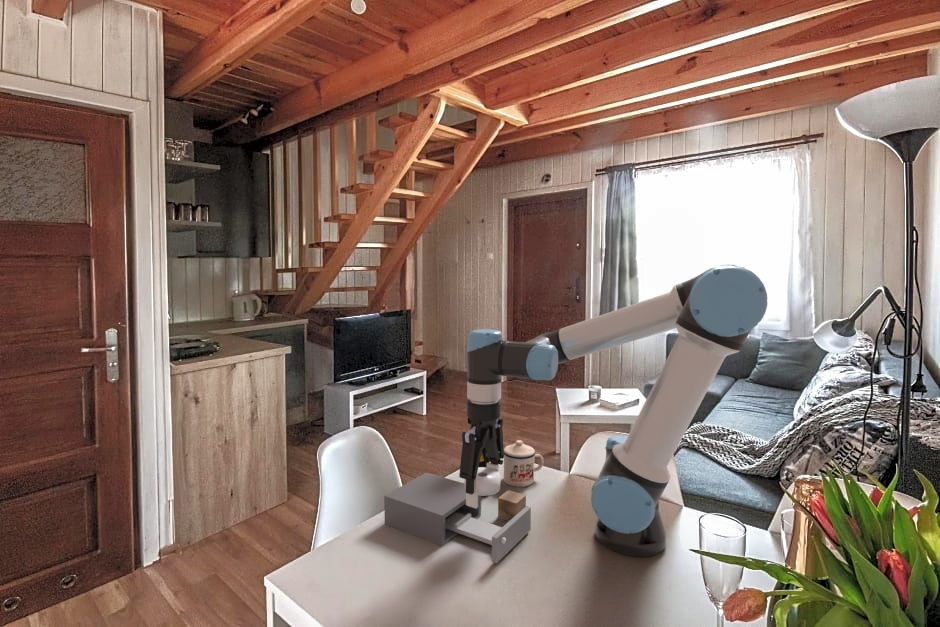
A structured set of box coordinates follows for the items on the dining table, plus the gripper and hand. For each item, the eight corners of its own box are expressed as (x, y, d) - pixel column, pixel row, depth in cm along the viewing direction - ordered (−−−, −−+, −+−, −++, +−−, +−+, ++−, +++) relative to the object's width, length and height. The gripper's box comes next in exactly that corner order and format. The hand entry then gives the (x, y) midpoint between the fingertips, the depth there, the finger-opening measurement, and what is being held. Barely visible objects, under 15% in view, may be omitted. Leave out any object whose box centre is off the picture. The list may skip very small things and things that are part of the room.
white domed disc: (506, 485, 114) (506, 472, 113) (488, 499, 107) (488, 485, 107) (476, 476, 118) (476, 464, 118) (457, 489, 111) (457, 476, 111)
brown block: (525, 514, 124) (526, 495, 123) (516, 523, 120) (516, 503, 119) (507, 509, 127) (508, 490, 126) (498, 517, 122) (498, 497, 122)
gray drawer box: (480, 515, 123) (481, 488, 123) (442, 546, 110) (442, 515, 109) (426, 497, 133) (426, 472, 132) (384, 524, 119) (384, 495, 118)
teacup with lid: (508, 489, 138) (509, 448, 137) (498, 475, 146) (499, 437, 145) (549, 484, 141) (550, 444, 140) (536, 471, 150) (537, 433, 148)
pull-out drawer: (532, 530, 115) (532, 508, 115) (498, 564, 102) (499, 539, 102) (466, 509, 125) (466, 488, 125) (428, 537, 112) (428, 514, 112)
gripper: (493, 387, 121) (491, 478, 124) (442, 408, 104) (441, 512, 106) (520, 392, 117) (518, 485, 119) (472, 414, 100) (471, 523, 102)
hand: (482, 498), depth 113 cm, fingers closed on white domed disc, 8 cm apart
